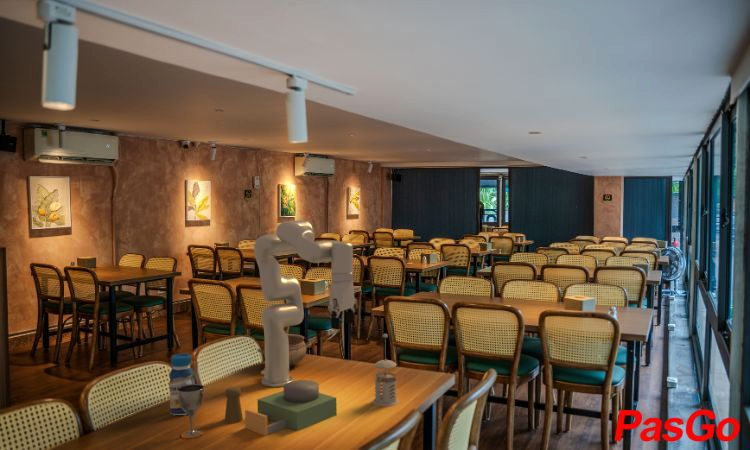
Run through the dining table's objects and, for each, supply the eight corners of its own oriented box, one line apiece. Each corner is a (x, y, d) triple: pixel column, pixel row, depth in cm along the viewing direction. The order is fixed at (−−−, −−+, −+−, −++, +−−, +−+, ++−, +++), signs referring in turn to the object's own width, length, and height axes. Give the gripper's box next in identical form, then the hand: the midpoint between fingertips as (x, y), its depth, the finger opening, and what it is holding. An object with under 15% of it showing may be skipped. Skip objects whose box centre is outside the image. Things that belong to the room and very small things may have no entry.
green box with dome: (236, 424, 197) (235, 394, 196) (297, 402, 217) (296, 375, 217) (275, 439, 184) (274, 407, 183) (336, 414, 204) (336, 386, 204)
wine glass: (182, 430, 192) (180, 384, 192) (207, 429, 193) (206, 383, 192) (175, 440, 184) (174, 392, 184) (202, 438, 185) (200, 391, 184)
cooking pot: (264, 375, 251) (263, 346, 251) (251, 364, 268) (251, 337, 267) (319, 367, 263) (318, 339, 262) (304, 357, 279) (303, 331, 279)
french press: (403, 399, 219) (402, 332, 218) (391, 409, 209) (390, 339, 208) (379, 395, 224) (378, 329, 222) (365, 405, 213) (364, 336, 212)
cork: (238, 423, 197) (237, 391, 197) (221, 422, 199) (220, 390, 198) (245, 417, 203) (245, 385, 203) (229, 416, 204) (228, 384, 204)
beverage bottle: (200, 409, 211) (198, 353, 210) (185, 417, 203) (183, 359, 202) (180, 406, 214) (178, 351, 213) (164, 415, 206) (163, 358, 205)
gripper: (345, 274, 218) (346, 320, 218) (319, 280, 202) (320, 330, 203) (363, 275, 214) (364, 322, 215) (338, 281, 199) (339, 332, 200)
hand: (342, 326), depth 209 cm, fingers open, 9 cm apart
